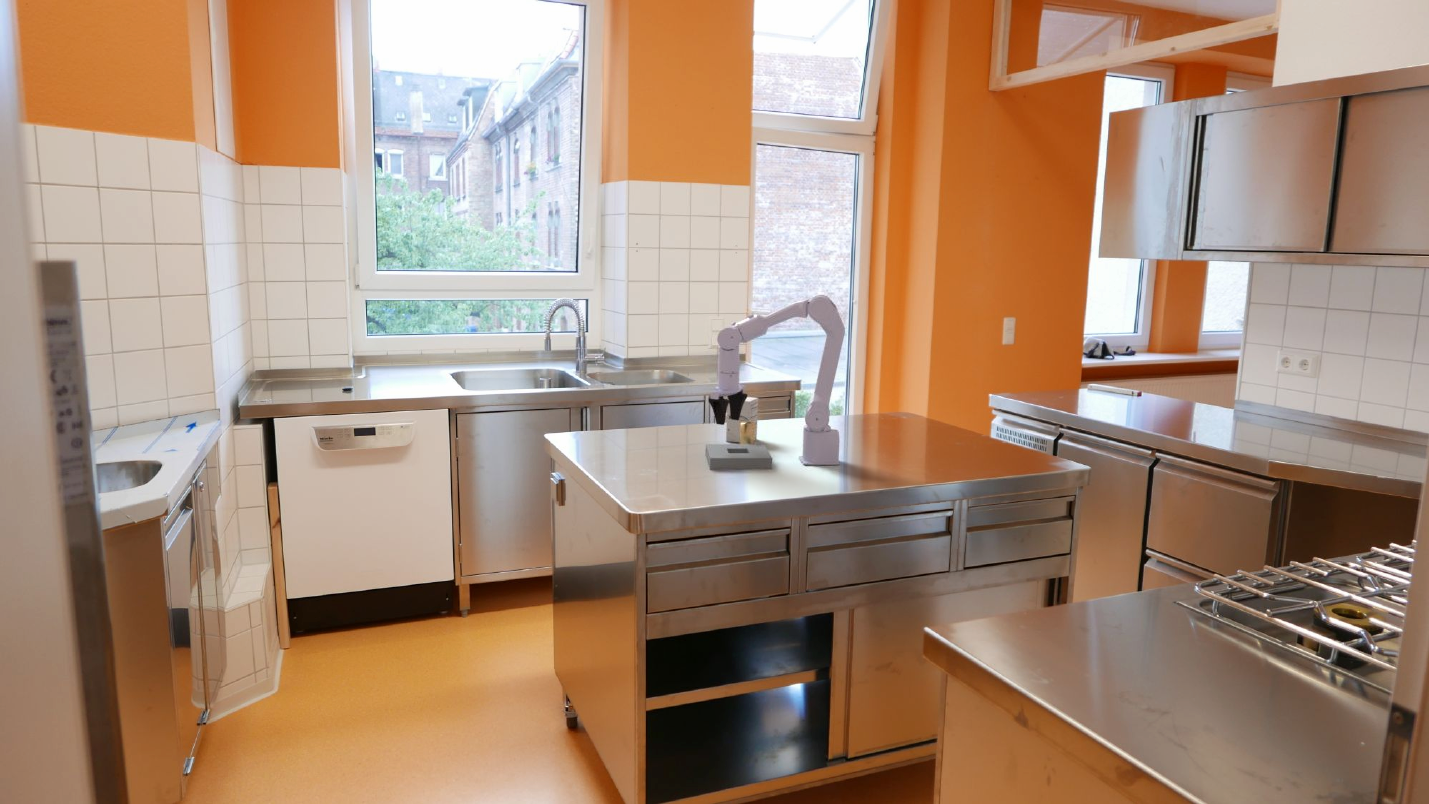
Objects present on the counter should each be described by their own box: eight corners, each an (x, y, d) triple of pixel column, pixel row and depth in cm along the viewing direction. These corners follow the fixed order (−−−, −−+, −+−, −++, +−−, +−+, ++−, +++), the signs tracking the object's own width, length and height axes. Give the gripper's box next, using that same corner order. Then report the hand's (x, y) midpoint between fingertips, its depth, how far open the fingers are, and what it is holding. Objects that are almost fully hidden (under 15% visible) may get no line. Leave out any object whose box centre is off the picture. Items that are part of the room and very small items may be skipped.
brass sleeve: (753, 449, 256) (753, 421, 254) (754, 452, 252) (755, 423, 250) (738, 449, 255) (739, 421, 254) (740, 452, 252) (741, 423, 250)
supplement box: (725, 441, 264) (726, 399, 262) (734, 436, 271) (735, 395, 269) (749, 444, 262) (750, 401, 259) (757, 439, 268) (758, 397, 266)
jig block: (763, 454, 249) (763, 444, 249) (772, 469, 233) (772, 458, 233) (705, 454, 248) (705, 444, 247) (710, 469, 232) (710, 458, 231)
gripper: (729, 367, 250) (728, 416, 252) (701, 373, 238) (700, 424, 240) (752, 369, 246) (751, 419, 248) (724, 376, 234) (723, 427, 236)
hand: (727, 422), depth 244 cm, fingers open, 7 cm apart
